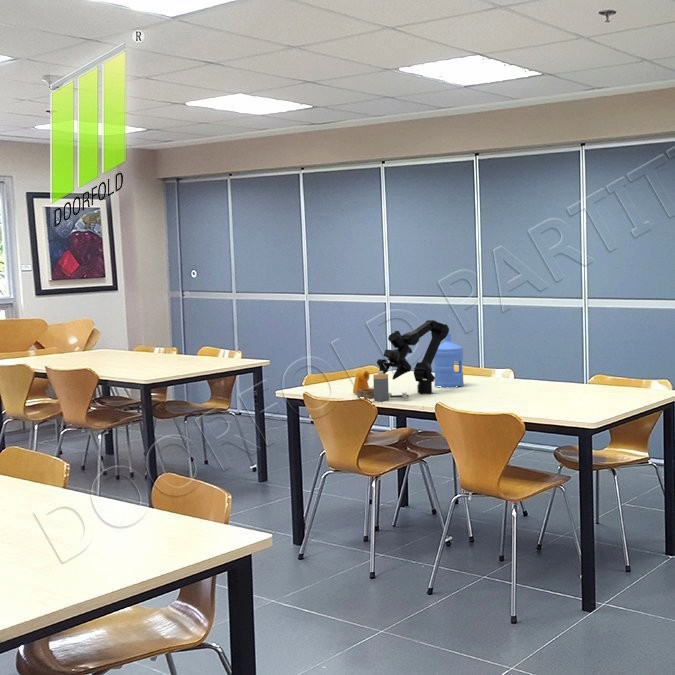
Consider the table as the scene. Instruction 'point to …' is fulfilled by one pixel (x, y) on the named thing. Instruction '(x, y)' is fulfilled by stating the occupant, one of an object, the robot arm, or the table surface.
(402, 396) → the cable run
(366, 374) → the orange rounded lump
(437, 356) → the water jug
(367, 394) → the end cradle
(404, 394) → the cable clips
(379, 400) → the grey tall block
